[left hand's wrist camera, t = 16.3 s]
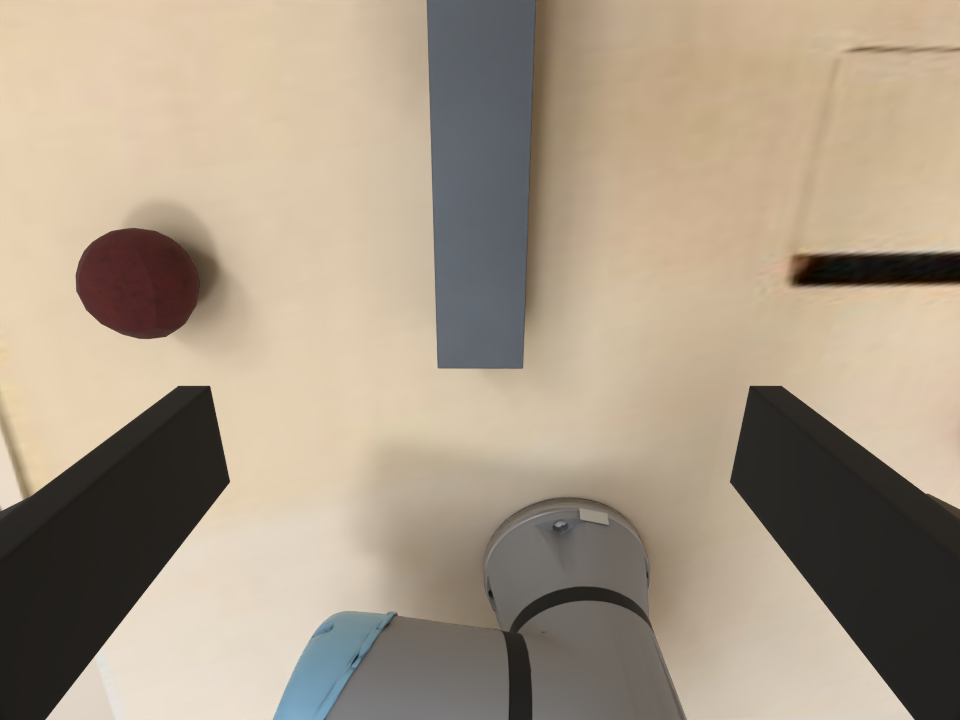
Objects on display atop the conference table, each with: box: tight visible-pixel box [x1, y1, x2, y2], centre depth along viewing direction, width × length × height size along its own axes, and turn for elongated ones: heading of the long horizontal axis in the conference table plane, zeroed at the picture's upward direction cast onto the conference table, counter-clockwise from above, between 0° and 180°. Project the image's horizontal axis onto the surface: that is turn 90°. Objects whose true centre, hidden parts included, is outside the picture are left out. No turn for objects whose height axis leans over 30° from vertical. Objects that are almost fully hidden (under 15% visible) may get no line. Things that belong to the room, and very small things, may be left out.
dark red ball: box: [76, 228, 200, 339], centre depth 36 cm, size 7×8×7 cm
